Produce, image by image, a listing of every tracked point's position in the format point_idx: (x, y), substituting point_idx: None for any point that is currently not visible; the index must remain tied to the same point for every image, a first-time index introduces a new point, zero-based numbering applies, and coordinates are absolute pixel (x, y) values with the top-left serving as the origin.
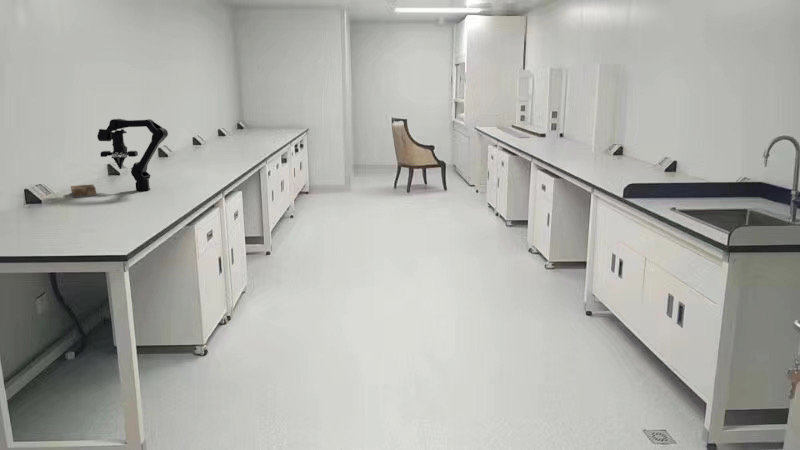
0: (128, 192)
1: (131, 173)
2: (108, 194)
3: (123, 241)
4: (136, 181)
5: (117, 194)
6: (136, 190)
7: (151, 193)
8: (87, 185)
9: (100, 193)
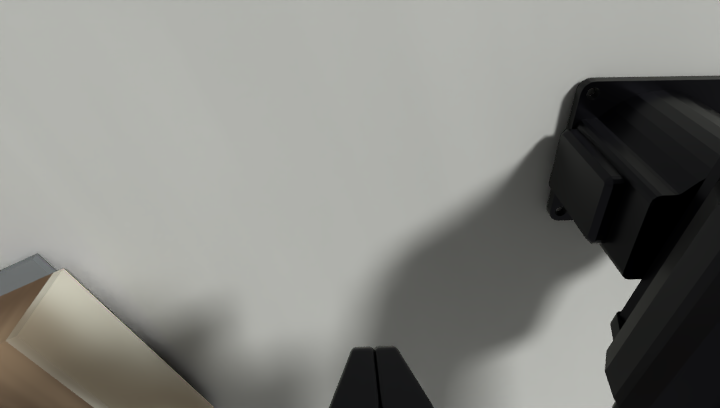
0: (466, 265)
1: (612, 388)
2: (294, 349)
3: None
4: (614, 263)
5: None
6: (554, 218)
7: None
8: (9, 394)
9: (182, 305)
